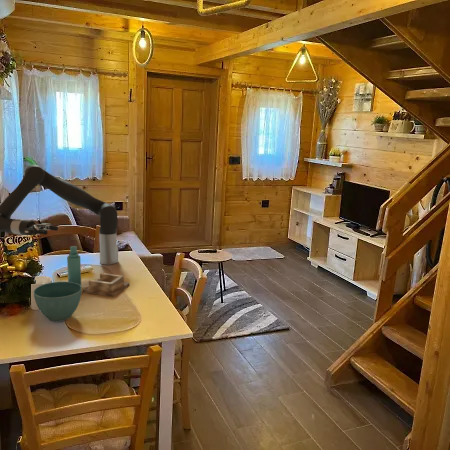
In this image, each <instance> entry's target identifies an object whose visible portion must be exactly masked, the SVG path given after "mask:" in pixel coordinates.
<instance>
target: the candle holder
mask: <svg viewBox="0 0 450 450" xmlns="http://www.w3.org/2000/svg"><path fill="white" fill-rule="evenodd" d="M34 277H35V280H36V284H31V305H30V304H29V305H30V306H29V307H30V309H32V310H33V311H40V310H39V308H38V306H37V304H36V301H35V298H34V290H35V289H36V288H37V287H39V286H41V285H44V284H48V283H53V278H52V277H51V276H46V275H45V276H43V275H42V276H34Z"/></svg>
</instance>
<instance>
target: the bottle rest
mask: <svg viewBox="0 0 450 450" xmlns="http://www.w3.org/2000/svg"><path fill="white" fill-rule="evenodd" d="M124 276H125V275H120V274H119V275H118V274H113V273H105V272H100V273H99V278H98V279H97V280H96V279H95V280H94V279H89V280H88V286H87V287H85V288H82V293H86V294H93V295H100V296H106V295H107V297H112V298H113V297H116V296H117V295H119V294H120V293H121V292H122V291H123V290H125V289H126V288H128V287H129V286H130V282H126V281H125V279H124V278H125V277H124Z"/></svg>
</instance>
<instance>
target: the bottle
mask: <svg viewBox="0 0 450 450" xmlns="http://www.w3.org/2000/svg"><path fill="white" fill-rule="evenodd" d="M69 249H70V250H69V253H68V256H66V257H67V258H66V260H67V262H66V263H67V282H73V283H77V284H79V285H81V286H82V271H81V270H82V269H81V267H82V266H81V265H82V264H81V256H80V255H79V252H78V247H77V245H72V246H70V247H69Z"/></svg>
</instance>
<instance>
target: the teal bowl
mask: <svg viewBox="0 0 450 450" xmlns="http://www.w3.org/2000/svg"><path fill="white" fill-rule="evenodd" d="M82 294H83V288H82V284H81V285H79V284H77V283H73V282H68V281H56V282H55V281H54V282H53V281H52V283H48V284H44V285H41V286H39V287H37V288H36V289H35V290H34V298H35V301H36V304H37V306H38V308H39V310H38V311H40V313H41V314H42V315H43V316H44V317H45V318H46V319H47V320H48V321H50V322H55V323H56V322H64V321H67V320H68V318H69V319H70V318H71V317H72V316H73V315H74V313H75V311H76V310H77V308H78V306H79V304H80V301H81V298H82ZM66 319H67V320H66Z"/></svg>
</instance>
